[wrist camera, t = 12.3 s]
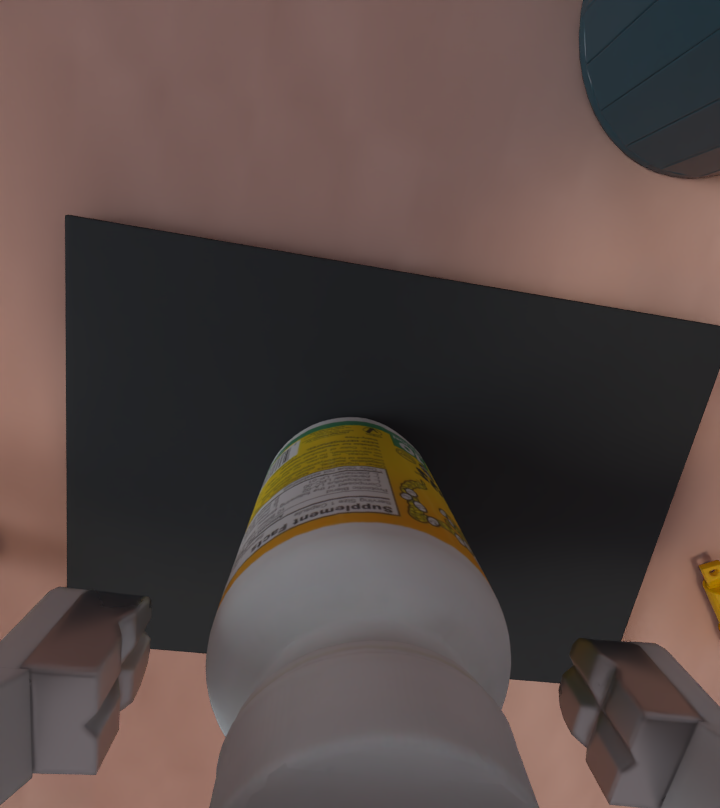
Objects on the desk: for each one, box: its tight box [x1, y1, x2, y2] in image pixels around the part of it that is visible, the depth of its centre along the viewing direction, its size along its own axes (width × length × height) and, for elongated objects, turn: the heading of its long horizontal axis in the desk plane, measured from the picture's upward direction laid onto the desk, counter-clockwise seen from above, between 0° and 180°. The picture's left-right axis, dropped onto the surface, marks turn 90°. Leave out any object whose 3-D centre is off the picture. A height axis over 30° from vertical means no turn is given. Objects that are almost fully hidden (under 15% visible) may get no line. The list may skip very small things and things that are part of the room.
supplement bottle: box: [206, 417, 539, 808], centre depth 9 cm, size 5×5×10 cm
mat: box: [65, 215, 720, 683], centre depth 15 cm, size 14×20×1 cm
